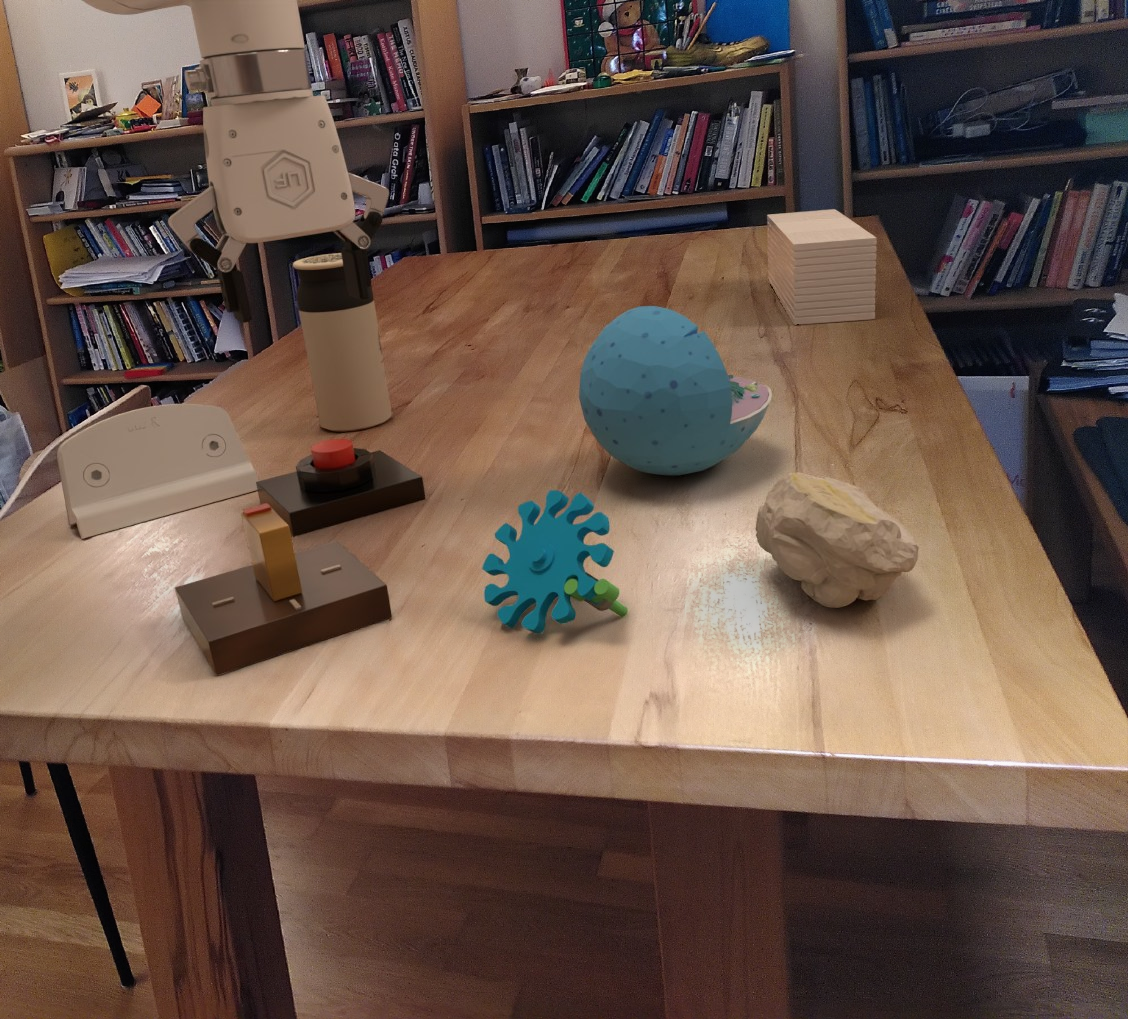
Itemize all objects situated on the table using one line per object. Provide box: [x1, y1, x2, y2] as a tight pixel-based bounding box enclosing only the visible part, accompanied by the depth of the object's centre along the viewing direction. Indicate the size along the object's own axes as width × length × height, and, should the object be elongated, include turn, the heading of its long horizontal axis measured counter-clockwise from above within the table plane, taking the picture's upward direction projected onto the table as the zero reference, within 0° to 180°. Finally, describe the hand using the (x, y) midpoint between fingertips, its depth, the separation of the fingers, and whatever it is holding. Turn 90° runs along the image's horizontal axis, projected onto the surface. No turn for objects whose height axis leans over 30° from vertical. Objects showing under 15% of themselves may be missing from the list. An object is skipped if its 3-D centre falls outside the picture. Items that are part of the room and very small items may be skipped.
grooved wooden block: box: [766, 208, 878, 326], centre depth 153 cm, size 32×11×11 cm, turn 176°
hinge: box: [56, 403, 260, 540], centre depth 95 cm, size 17×5×10 cm, turn 124°
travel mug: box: [292, 252, 393, 433], centre depth 113 cm, size 8×8×18 cm
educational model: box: [578, 305, 773, 477], centre depth 91 cm, size 16×19×15 cm
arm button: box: [310, 438, 356, 469], centre depth 91 cm, size 4×4×2 cm
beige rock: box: [755, 471, 920, 609], centre depth 68 cm, size 12×8×10 cm
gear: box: [481, 489, 629, 635], centre depth 70 cm, size 11×6×10 cm
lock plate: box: [174, 539, 393, 676], centre depth 72 cm, size 12×10×3 cm
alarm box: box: [256, 447, 427, 538], centre depth 92 cm, size 12×10×4 cm
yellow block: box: [240, 503, 302, 601], centre depth 71 cm, size 5×2×5 cm, turn 30°
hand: (302, 308), depth 84 cm, fingers open, 9 cm apart
